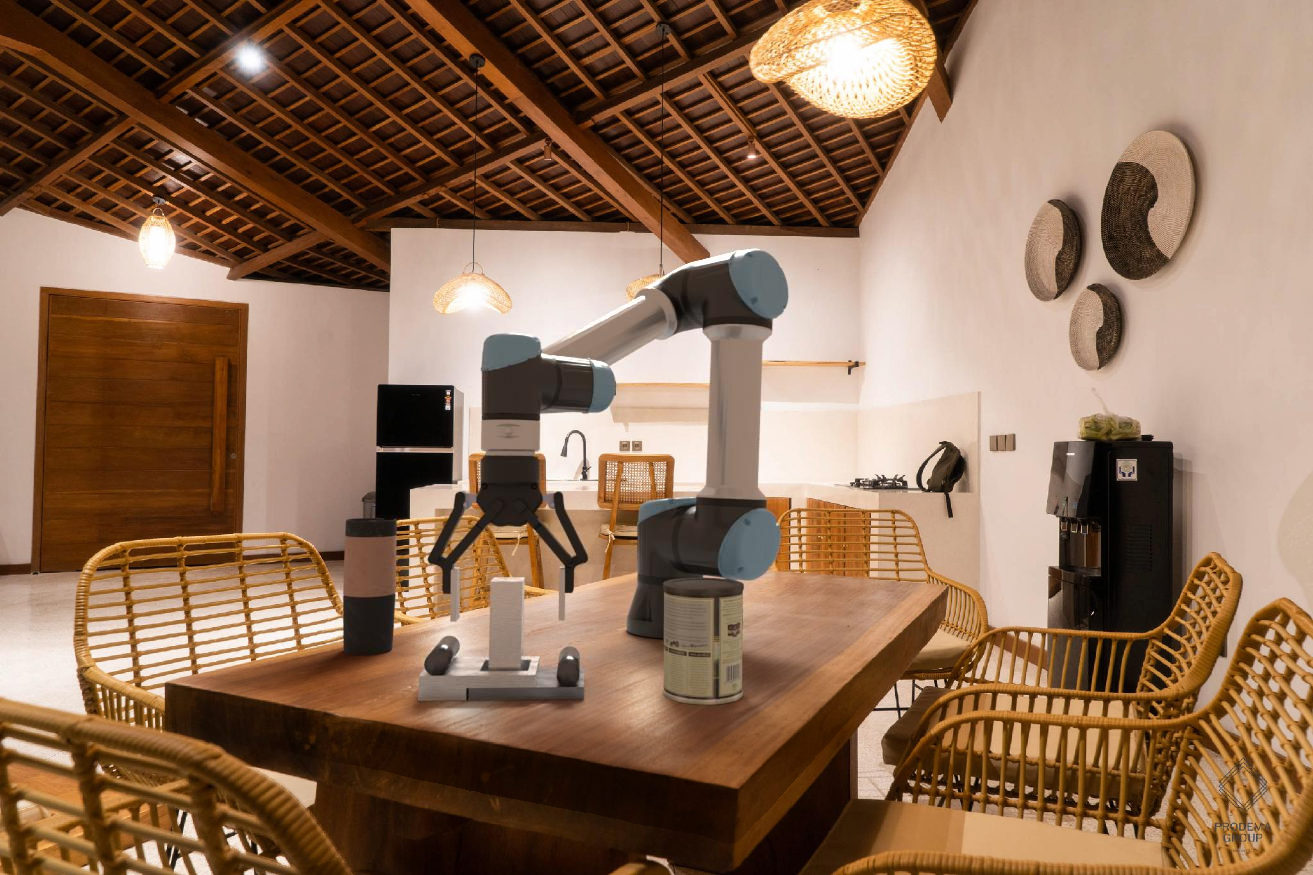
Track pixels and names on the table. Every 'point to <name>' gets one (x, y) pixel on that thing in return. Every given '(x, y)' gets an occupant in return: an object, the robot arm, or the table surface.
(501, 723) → the table surface
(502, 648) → the pin
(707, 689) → the coffee can
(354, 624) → the travel mug
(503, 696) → the base with two rollers
